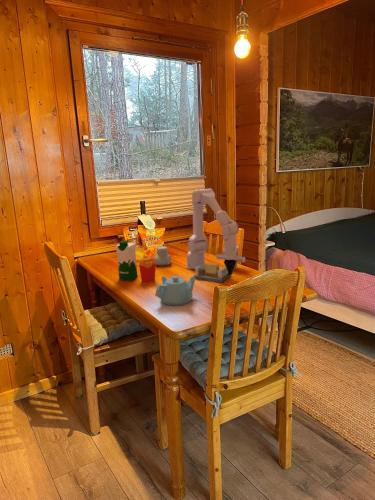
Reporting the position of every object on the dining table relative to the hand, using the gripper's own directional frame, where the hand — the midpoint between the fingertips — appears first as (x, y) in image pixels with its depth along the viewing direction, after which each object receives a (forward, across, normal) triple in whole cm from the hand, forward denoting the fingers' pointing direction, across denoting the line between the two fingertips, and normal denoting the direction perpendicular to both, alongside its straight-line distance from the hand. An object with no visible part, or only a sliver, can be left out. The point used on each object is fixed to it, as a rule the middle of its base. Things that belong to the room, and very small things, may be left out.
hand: (230, 274), depth 179 cm
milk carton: (+3, -49, -18) cm, 52 cm away
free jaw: (+1, -4, 0) cm, 4 cm away
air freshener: (+3, -46, +10) cm, 47 cm away
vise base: (+3, -10, 0) cm, 11 cm away
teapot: (+3, -11, -33) cm, 35 cm away
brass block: (+2, -10, 0) cm, 10 cm away
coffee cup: (+3, -7, +18) cm, 20 cm away
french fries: (+3, -37, -17) cm, 41 cm away
